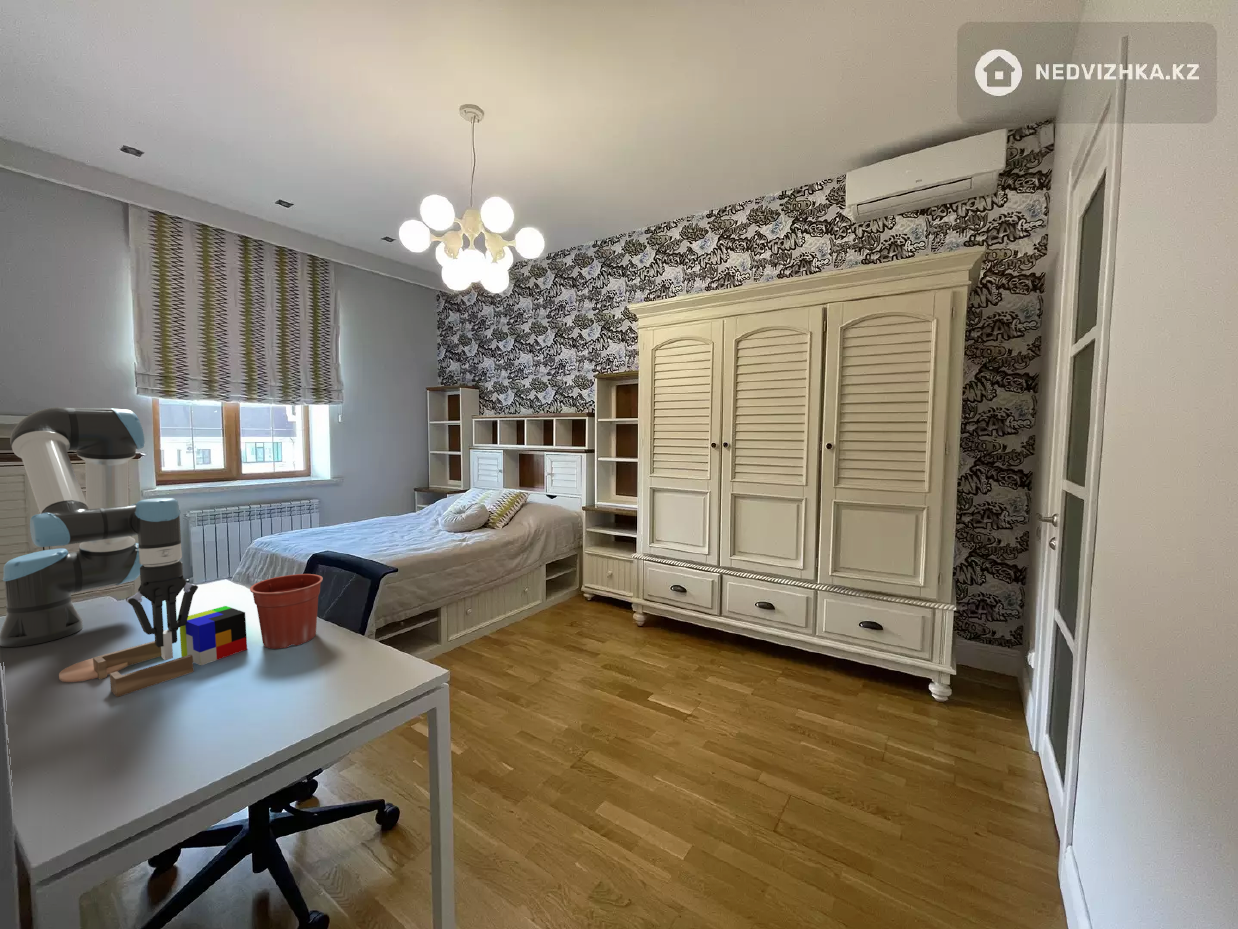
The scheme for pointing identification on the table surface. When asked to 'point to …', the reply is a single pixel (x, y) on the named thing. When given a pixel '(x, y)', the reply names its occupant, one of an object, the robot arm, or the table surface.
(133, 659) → the pocket frame
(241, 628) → the puzzle toy
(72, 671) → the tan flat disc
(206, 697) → the table surface
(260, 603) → the flower pot
